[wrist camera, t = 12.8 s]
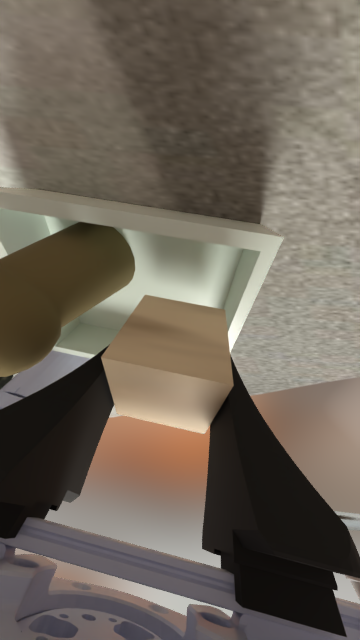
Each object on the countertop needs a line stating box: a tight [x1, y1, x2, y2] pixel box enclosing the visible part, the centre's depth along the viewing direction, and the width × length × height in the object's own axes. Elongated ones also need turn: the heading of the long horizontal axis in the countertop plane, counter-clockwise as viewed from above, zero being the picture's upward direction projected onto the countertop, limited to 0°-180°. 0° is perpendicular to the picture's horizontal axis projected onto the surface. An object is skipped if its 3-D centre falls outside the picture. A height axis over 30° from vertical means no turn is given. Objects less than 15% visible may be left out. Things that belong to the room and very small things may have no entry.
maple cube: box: [101, 295, 234, 434], centre depth 9 cm, size 5×5×5 cm
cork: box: [0, 222, 135, 377], centre depth 10 cm, size 6×6×11 cm
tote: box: [0, 187, 284, 359], centre depth 15 cm, size 14×18×5 cm
